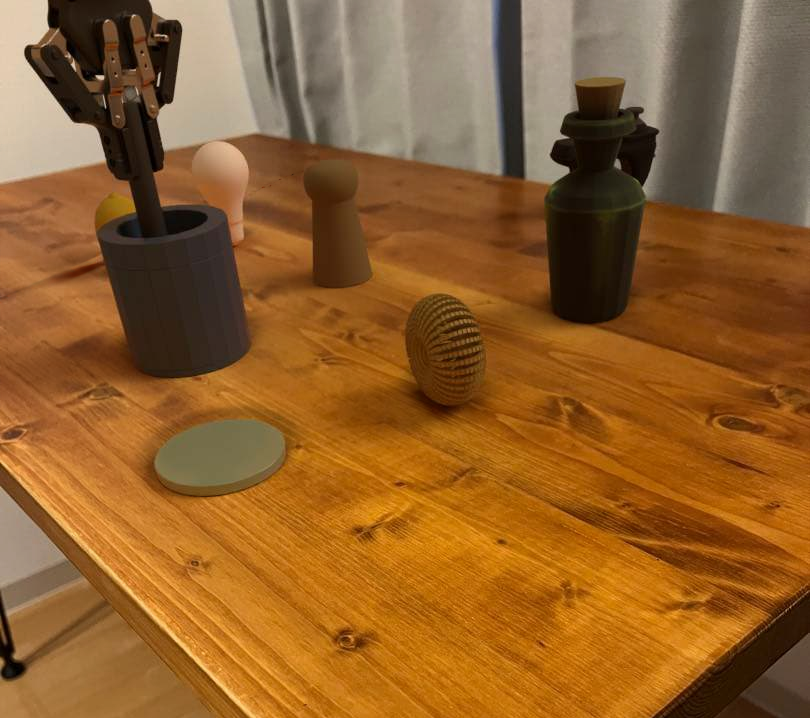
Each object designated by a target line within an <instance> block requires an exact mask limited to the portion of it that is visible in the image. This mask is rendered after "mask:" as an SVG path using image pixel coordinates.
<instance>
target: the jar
mask: <svg viewBox="0 0 810 718" xmlns="http://www.w3.org/2000/svg"><path fill="white" fill-rule="evenodd" d="M161 209H162V213H163V217H164V222H165V226H166V231H167V235H168V236H163V237H154V238H142V234H141V230H140V226H139V222H138V217H137V213H136V212H133V213H130V214H126V215H124V216H121V217H119V218H116V219H113V220H111V221H109V222H108V223H106V224H105V225H103V226H101V227H100V229H99V230H98V232H97V236H96V239H97V238H98V239H97V242H98V241H99V242H98V245H99V248H100V251H101V255H102V258H103V262H104V266H105V269H106V273H107V276H108V281H109V284H110V287H111V290H112V291H111V292H112V294H113V298H114V301H115V304H116V305H115V306H116V308H117V312H118V315H119V319H120V322H121V327H122V330H123V332H124V337H125V340H126V344H127V347H128V351H129V355H130V357H131V361H132V364H133V366H134V367H135V368H136V370H137V371H139V372H141V373H143V374H144V375H148V376H151V377H157V378H158V377H159V378H184V377H185V378H186V377H192V376H199V375H203V374H208V373H211V372H215V371H218V370H221V369H223V368H226V367H228V366H230V365H232V364H234V363H236V362H237V361H239V360H240V359H242V358H243V357H244V356H245V355H246V354H247V353H248V352H249V350H250V348H251V345H252V342H251V333H250V328H249V327H250V326H249V322H248V316H247V313H246V312H247V311H246V308H245V303H244V302H245V301H244V296H243V292H242V287H241V282H240V276H239V270H238V266H237V260H236V255H235V250H234V246H233V244H232V239H231V234H230V229H229V224H228V219H227V215H226V213H225V212H224V211H223V210H222V209H219V208H216V207H213V206H210V205H207V204H206V205H205V204H197V203H195V204H172V205H164V206H162V205H161Z"/></svg>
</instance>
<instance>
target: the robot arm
mask: <svg viewBox="0 0 810 718" xmlns="http://www.w3.org/2000/svg"><path fill="white" fill-rule="evenodd" d="M46 21H47V22H46V23H47V26H48V29H47V32H46V33H45V34H44V35H43V36H42V38H41V39H39V41H38V43H35V44H27V45H25V47H24V49H23V55H24V56H23V57H24V58H25V60H26V62H27V63H28V65H29V66H30V67H31V69H32V70H33V71H34V72H35V74H36V75H37V77H38V78H39V79H40V80H41V82H42V83H43V85H44V86H45V87H46V88H47V90H48V92H49V93H50V94H51V95H52V96H53V98H54V99H55V100H56V102H57V103H58V105H59V106H60V107H61V108H62V110H63V111H64V112H65V114H66V115H67V116H68V118H69V119H70V120H71V122H73V123H74V124H85V125H89V126H93V127H94V128H95V129H96V130H97V132H98V135H99V139H100V143H101V146H102V150H103V153H104V155H103V156H104V159H105V162H106V166H107V169H108V170H109V172H110V173H111V175H112V174H113V176H114V178H115V179H116V180H118V181H124V182H125V181H126V182H129V181H133V180H136V179H138V178H139V177H140V172H139V168H138V164H137V160H136V155H135V151H134V147H133V143H132V139H131V134H130V130H129V127H124V125H125V115H124V109H123V104H122V103H125V102H136V103H137V104H138V108H139V112H140V117H141V121H142V125H143V130H144V134H145V138H146V143H147V147H148V152H149V156H150V160H151V165H152V169H153V174H154V173H157V172H161V171H163V170H164V168H165V165H164V161H165V150H164V146H163V141H162V137H161V136H162V135H161V132H160V127H159V122H158V117H159V115H160V110H161V109H162V108H163V107H164V106H166V105H171V104H172V103H173V102H174V97H175V91H176V83H177V75H178V69H179V68H178V67H179V61H180V52H181V46H182V37H183V26H182V22H180V20H178V19H165V18H164V17H162V16H160V15H159V14H157V13H155V12H154V11H153V6H152V3H151V1H150V0H47V14H46ZM72 64H74V66H73V65H72ZM97 76H103V79H100V78H98V77H97ZM158 81H159V82H158Z"/></svg>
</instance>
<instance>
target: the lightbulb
mask: <svg viewBox="0 0 810 718" xmlns="http://www.w3.org/2000/svg"><path fill="white" fill-rule="evenodd" d="M190 168H191V179H192V181H193V182H194V186H195V187H196V189H197V190H198V192H199V194H201V195H202V197H203V198H204V199H205V201H206V202H207V204H208V206H213V207H216V208H219V209H222V210H223V211H224V212H225V213H226V215H227V219H228V224H229V229H230V234H231V239H232V244H233V247H236V246H238V245H239V243H240V242H242V241H243V240H244V238H245V235H244V234H245V233H244V225H243V220H244V212H243V203H244V197H245V193H246V190H247V187H248V183H249V179H250V169H249V165H248V162H247V160H246V157H245V156H244V154H243V153H242V152H241V151H240V150H239V149H238V148H237V147H236V146H235V145H232V144H231V143H229V142H226V141H220V140H215V141H210V142H208V143H205V144H203V145H202V146H201V147H200V148H199V149H198V150H197V151H196V152H195V154H194V156H193V158H192V161H191V167H190Z"/></svg>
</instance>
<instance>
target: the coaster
mask: <svg viewBox="0 0 810 718" xmlns="http://www.w3.org/2000/svg"><path fill="white" fill-rule="evenodd" d="M287 453H288V452H287V445H286V439H285V436H284V435H283V433H282V432H281V431H280V429H278V428H276V426H273V425H272V424H270V423H267V422H264V421H261V420H255V419H249V418H230V419H220V420H213V421H209V422H205V423H202V424H198V425H195V426H193V427H190V428H187V429H185V430H183V431H181V432H179V433H177V434H176V435H174V436H172V437H171V438H170V439H168V440H167V441H165V442H164V443H163V444H162V445H161V447H160V448H159V449H158V451H157V452H156V455H155V457H154V461H153V464H154V465H153V466H154V470H155V473H156V474H155V475H156V476H157V478H158V480H159V482H160V483H161V484H162V485H163V486H164V487H165V488H167V489H169V490H171V491H172V492H174V493H177V494H182V495H186V496H187V495H188V496H194V497H209V496H210V497H211V496H221V495H228V494H232V493H236V492H239V491H243V490H246V489H248V488H251V487H253V486H255V485H258V484H260V483H262V482H264V481H265V480H267V479H268V478H269V477H271V476H273V475H274V474H275V473H276V472H277V471H278V470H280V468H281V467H282V466H283V464H284V462H285V460H286V458H287Z"/></svg>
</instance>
